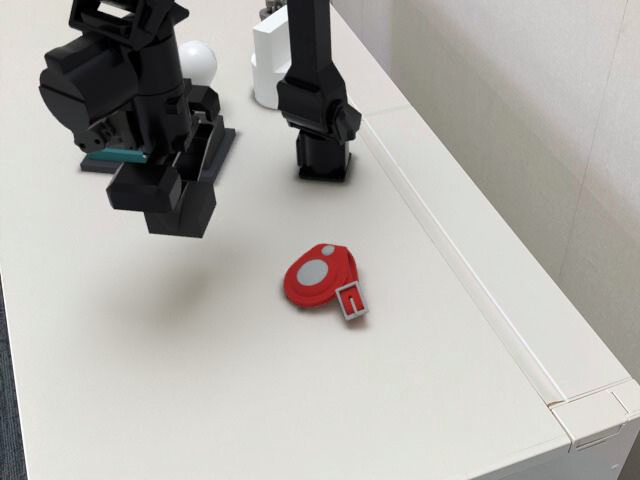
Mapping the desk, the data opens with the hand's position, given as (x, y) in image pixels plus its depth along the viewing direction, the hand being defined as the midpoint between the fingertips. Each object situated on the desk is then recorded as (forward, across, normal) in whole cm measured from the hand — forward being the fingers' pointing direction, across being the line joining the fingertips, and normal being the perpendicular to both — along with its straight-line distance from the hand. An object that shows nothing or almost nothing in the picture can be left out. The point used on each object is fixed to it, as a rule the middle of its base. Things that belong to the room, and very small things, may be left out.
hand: (181, 210), depth 84 cm
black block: (+1, 0, 0) cm, 1 cm away
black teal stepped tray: (+11, -25, -13) cm, 30 cm away
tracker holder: (+11, 0, +16) cm, 19 cm away
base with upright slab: (+11, -43, +2) cm, 45 cm away
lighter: (+11, -54, 0) cm, 55 cm away
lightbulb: (+11, -36, -10) cm, 39 cm away
